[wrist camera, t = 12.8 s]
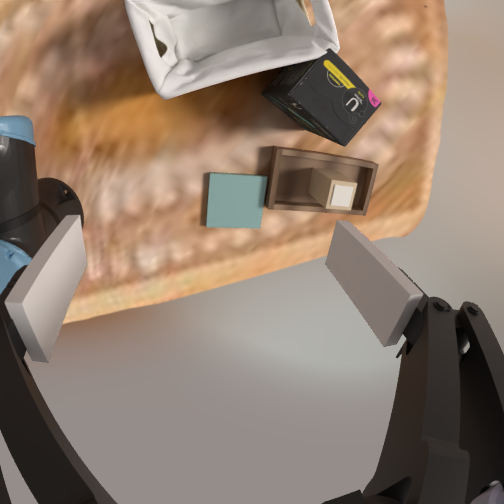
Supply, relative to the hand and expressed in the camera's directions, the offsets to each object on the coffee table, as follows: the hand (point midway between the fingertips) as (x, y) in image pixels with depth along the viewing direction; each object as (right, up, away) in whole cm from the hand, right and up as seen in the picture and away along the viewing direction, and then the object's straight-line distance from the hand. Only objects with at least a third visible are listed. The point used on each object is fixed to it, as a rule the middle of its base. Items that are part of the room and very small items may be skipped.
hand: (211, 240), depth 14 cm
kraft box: (+15, +13, +39) cm, 44 cm away
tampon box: (+10, +27, +30) cm, 42 cm away
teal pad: (-1, +9, +38) cm, 39 cm away
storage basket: (-3, +34, +22) cm, 41 cm away
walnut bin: (+15, +13, +40) cm, 44 cm away
